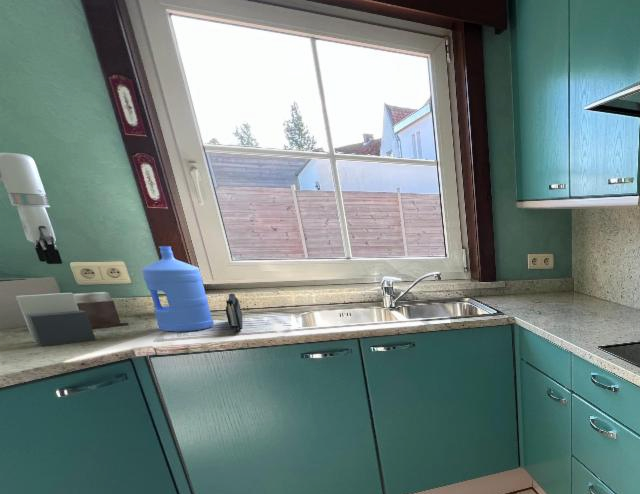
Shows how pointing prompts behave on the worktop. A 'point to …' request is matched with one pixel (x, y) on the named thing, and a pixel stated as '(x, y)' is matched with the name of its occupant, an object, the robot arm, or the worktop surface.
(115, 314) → the book rack
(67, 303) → the white book
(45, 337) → the dark grey rectangular block
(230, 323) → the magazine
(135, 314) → the worktop surface
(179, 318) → the water jug
